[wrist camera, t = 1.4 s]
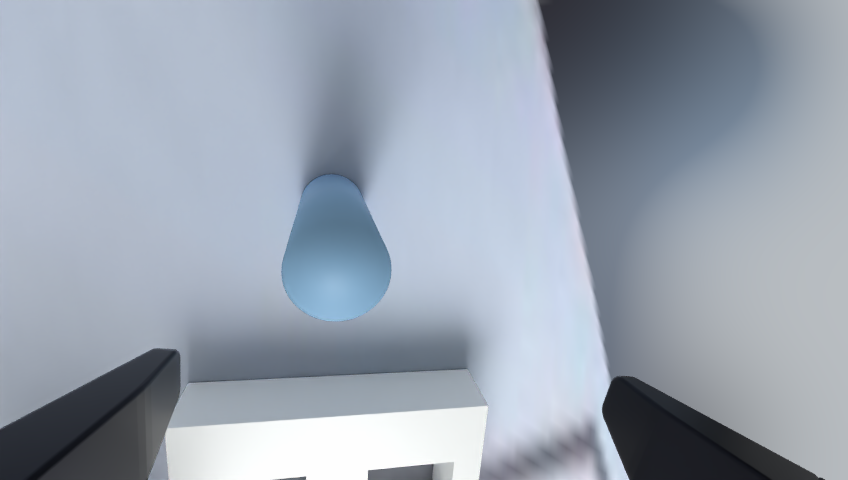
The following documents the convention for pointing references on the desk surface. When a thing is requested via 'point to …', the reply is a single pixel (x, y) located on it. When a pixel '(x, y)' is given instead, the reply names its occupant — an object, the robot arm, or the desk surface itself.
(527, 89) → the desk surface
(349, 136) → the desk surface
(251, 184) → the desk surface
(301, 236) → the peg
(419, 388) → the hole block
